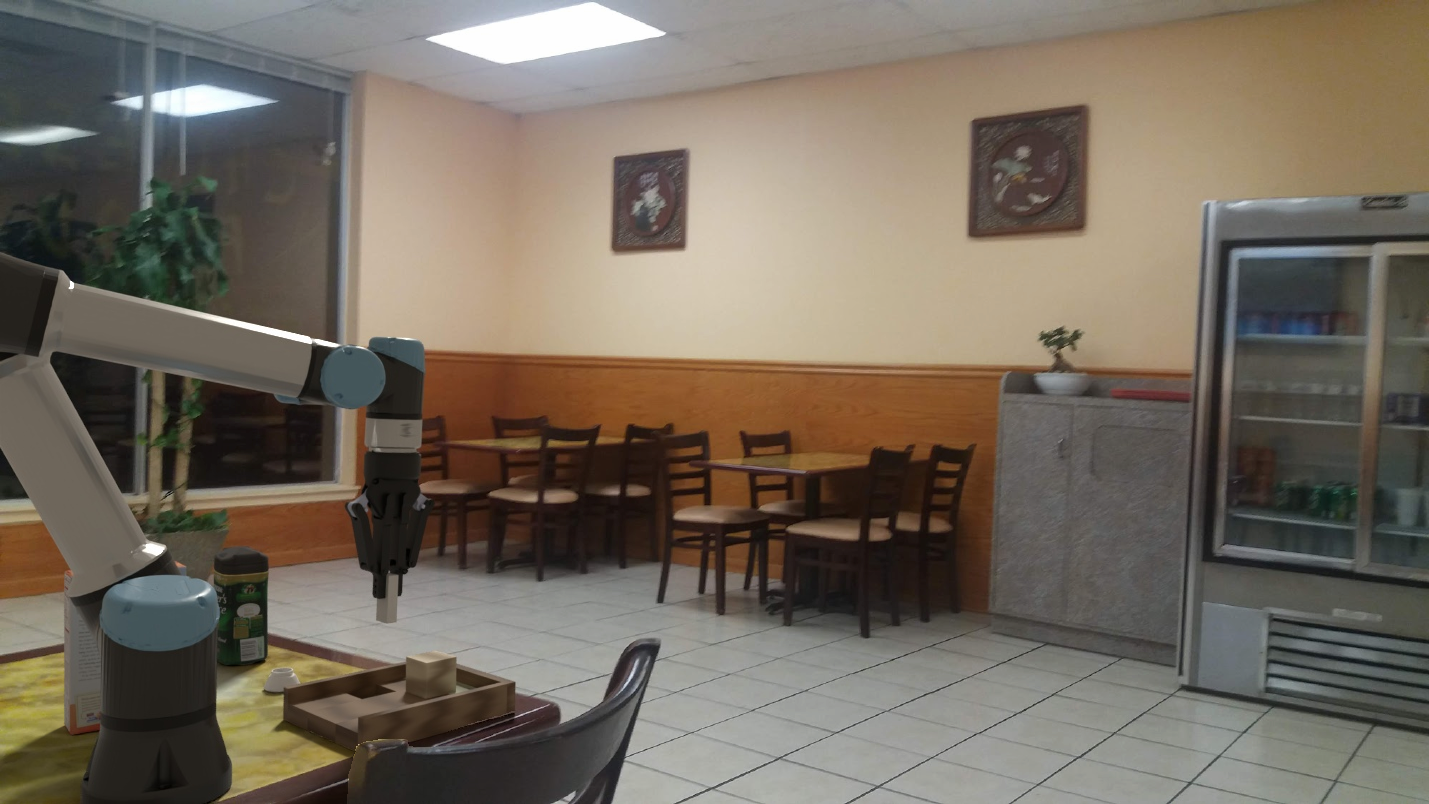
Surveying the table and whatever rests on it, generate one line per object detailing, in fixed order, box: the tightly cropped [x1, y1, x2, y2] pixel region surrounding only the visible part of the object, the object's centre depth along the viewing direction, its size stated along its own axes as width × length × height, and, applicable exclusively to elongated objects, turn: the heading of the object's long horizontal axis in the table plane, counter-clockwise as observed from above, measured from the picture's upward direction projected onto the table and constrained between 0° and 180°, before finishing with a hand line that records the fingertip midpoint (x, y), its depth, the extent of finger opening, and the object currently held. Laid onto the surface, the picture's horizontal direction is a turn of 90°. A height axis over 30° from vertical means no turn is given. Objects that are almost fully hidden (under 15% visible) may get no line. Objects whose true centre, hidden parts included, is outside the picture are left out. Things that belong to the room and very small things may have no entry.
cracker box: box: [63, 560, 188, 736], centre depth 145 cm, size 14×6×21 cm, turn 129°
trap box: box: [282, 661, 517, 752], centre depth 150 cm, size 24×20×4 cm
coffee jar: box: [213, 545, 270, 666], centre depth 178 cm, size 10×8×19 cm
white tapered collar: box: [263, 667, 301, 694], centre depth 162 cm, size 5×3×5 cm
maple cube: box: [405, 650, 457, 699], centre depth 154 cm, size 5×5×5 cm
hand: (386, 621), depth 148 cm, fingers closed
